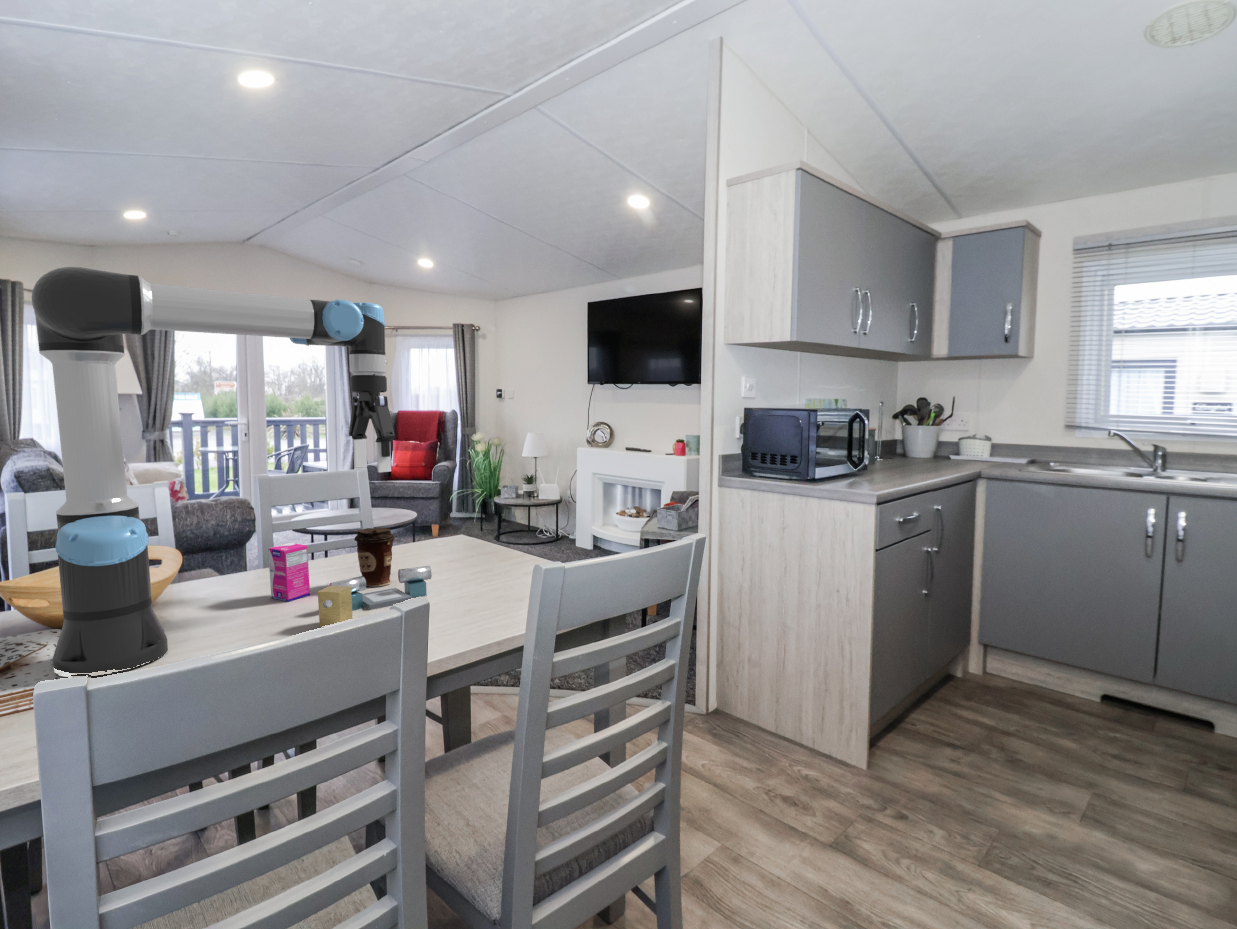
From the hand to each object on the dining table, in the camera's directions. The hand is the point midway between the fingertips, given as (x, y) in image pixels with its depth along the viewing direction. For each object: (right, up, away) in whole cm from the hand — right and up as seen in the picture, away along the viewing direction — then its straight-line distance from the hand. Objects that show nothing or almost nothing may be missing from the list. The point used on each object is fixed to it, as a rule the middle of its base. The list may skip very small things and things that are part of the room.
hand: (372, 469), depth 148 cm
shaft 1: (-1, -29, -11) cm, 31 cm away
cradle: (+5, -28, -6) cm, 29 cm away
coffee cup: (-2, -27, +7) cm, 28 cm away
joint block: (+1, -30, -21) cm, 37 cm away
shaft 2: (+10, -28, -2) cm, 30 cm away
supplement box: (-17, -28, -3) cm, 33 cm away
